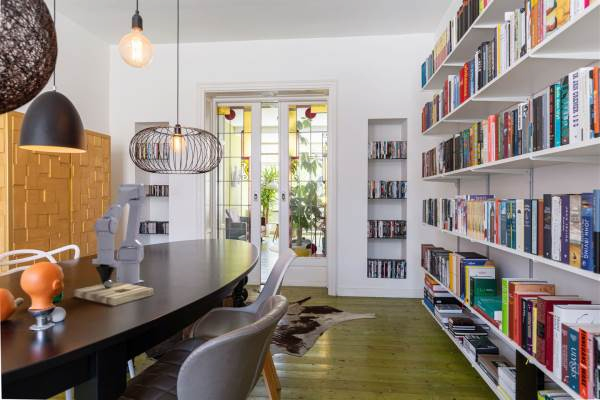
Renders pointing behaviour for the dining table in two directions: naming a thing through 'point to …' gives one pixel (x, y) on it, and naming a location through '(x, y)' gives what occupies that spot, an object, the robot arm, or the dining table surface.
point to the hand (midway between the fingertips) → (105, 284)
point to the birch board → (114, 293)
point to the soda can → (58, 297)
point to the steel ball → (108, 284)
